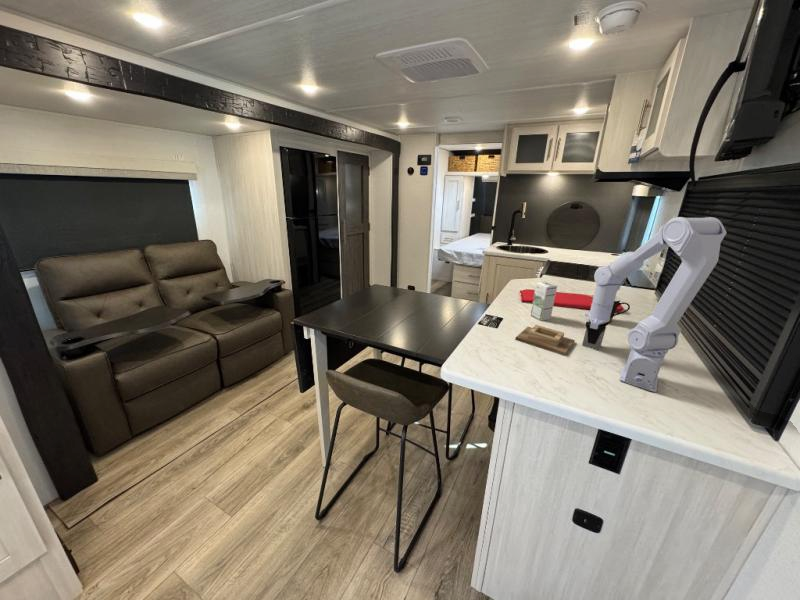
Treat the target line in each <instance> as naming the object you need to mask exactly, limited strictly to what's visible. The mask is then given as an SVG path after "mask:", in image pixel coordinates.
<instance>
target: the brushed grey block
mask: <svg viewBox="0 0 800 600" xmlns="http://www.w3.org/2000/svg"><path fill="white" fill-rule="evenodd" d="M605 332H606V329H605V330H604V331H603V332H602V333H601V334H600V336H599V338H598V340H597V342H596V343H595V345H594V344H591V343H588V332H587V328H586V327H585V332H584V335H583V341H582V344H581V346H583V347H585V346H586V347H585V348H588V347H589V348H588V349H592V348H593V349H592V350H595V349H596V350H595V351H598V350H599V351H600V349H601V347H602V343H603V339H604V337H605Z"/></svg>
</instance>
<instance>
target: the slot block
mask: <svg viewBox="0 0 800 600" xmlns="http://www.w3.org/2000/svg"><path fill="white" fill-rule="evenodd" d="M564 335H565V332H562V331H560V330H555V329H552V328H548V327H545V326H541V325H539V324H538V325H537V324H535V325H534V326H533V327H530V326H527V327H526V328H524V329H523V330H522V331H521V332H520V333H519V334H518V335H517V336H515V341H517V342H521V343H524V344H527V345H530V346H533V347H536V348H539V349H543V350H546V351H549V352H552V353H555V354H558V355H561V356H564V357H565V356H566V355H567V353H569V350H571V348H572V346H574V344H573V343H575V341H576V340H575V339H572V338H570V337H565V336H564Z"/></svg>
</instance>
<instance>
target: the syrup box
mask: <svg viewBox="0 0 800 600" xmlns="http://www.w3.org/2000/svg"><path fill="white" fill-rule="evenodd" d="M557 289H558V285H557V284H554V283H551V282H547V281H539V282H536V283H535V289H534V290H535V293H534V299H533V303H532V305H531V311H530V316H531V317H533V318H535V319H536V320H539V321H547V320H552V313H553V309H554V306H553V304H554V299H555V295H556V292H557V291H558V290H557Z"/></svg>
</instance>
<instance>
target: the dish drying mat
mask: <svg viewBox="0 0 800 600" xmlns="http://www.w3.org/2000/svg"><path fill="white" fill-rule="evenodd" d="M520 293H521V295H520V301H521V303H525V302H526V304H533V299H534V293H535V289H533V288H532V289H527V288H526V289H523V290H522V289H521V290H519V294H520ZM593 297H594V294H582V293H574V292H563V291H562V292H561V291H556V295H555V299H554V304H553V307H555V306H556V307H562V308H575V309H586V310H590V309H591V305H592V301H593ZM623 311H624V306H623V304H621V305H620V306H618V307H617V309H616V312H623Z"/></svg>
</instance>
